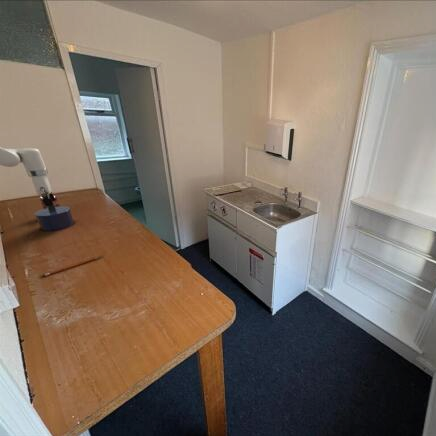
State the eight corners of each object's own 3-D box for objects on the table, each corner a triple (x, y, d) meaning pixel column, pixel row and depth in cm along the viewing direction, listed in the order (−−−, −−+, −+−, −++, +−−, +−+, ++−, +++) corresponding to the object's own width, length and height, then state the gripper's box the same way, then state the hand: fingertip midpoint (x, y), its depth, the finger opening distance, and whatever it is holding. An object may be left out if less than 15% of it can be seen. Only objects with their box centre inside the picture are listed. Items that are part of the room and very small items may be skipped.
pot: (40, 232, 125) (33, 218, 122) (43, 224, 135) (37, 210, 132) (73, 226, 133) (68, 213, 130) (74, 218, 143) (69, 206, 140)
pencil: (43, 276, 94) (42, 274, 93) (100, 257, 107) (99, 255, 107) (43, 277, 93) (42, 275, 93) (100, 258, 107) (100, 256, 106)
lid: (32, 220, 122) (27, 208, 119) (37, 211, 132) (32, 200, 129) (70, 214, 130) (65, 203, 127) (71, 206, 140) (67, 196, 138)
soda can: (45, 214, 146) (37, 196, 141) (60, 211, 152) (53, 194, 147) (48, 217, 143) (41, 199, 138) (64, 214, 148) (57, 196, 143)
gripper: (30, 170, 126) (43, 200, 133) (24, 177, 114) (38, 209, 121) (49, 169, 130) (60, 197, 137) (45, 175, 118) (58, 206, 125)
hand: (50, 203), depth 129 cm, fingers open, 9 cm apart
